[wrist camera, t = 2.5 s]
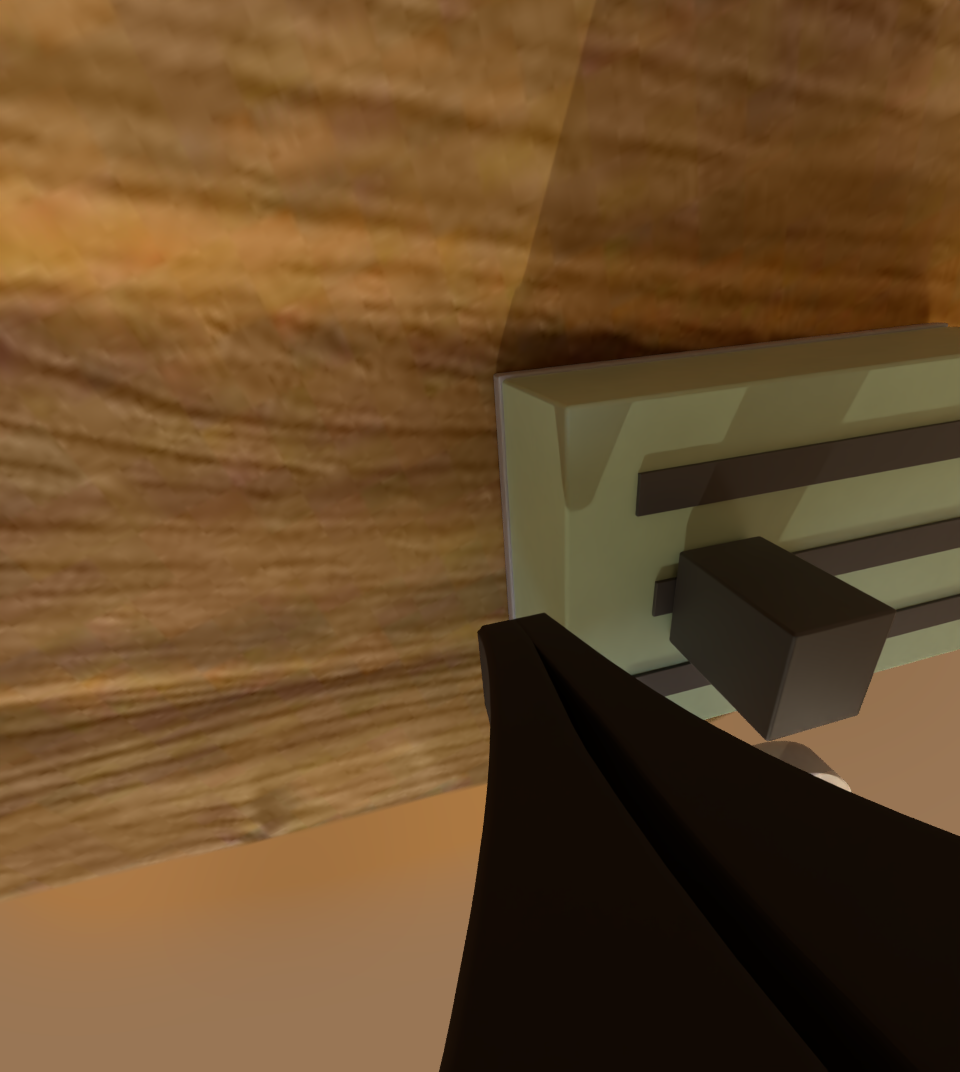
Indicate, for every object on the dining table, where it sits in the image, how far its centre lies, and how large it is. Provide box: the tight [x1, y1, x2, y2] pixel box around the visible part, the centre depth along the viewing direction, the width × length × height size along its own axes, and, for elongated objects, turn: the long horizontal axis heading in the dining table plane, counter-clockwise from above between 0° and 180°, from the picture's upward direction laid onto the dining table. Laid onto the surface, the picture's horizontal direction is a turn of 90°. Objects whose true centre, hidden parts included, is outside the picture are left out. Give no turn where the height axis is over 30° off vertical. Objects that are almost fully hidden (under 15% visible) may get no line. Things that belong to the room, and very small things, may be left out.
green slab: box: [494, 323, 960, 720], centre depth 13 cm, size 9×14×5 cm, turn 95°
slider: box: [669, 536, 896, 741], centre depth 9 cm, size 2×2×3 cm
